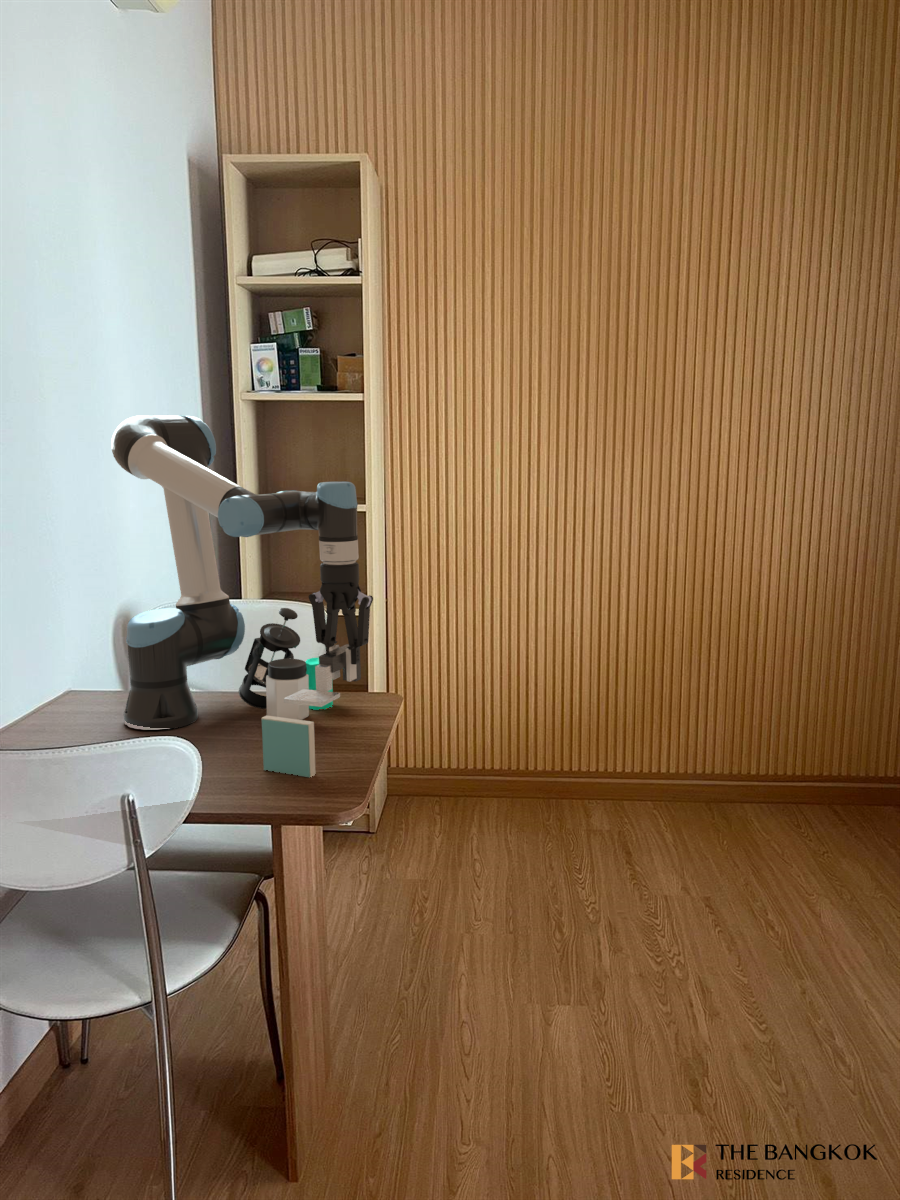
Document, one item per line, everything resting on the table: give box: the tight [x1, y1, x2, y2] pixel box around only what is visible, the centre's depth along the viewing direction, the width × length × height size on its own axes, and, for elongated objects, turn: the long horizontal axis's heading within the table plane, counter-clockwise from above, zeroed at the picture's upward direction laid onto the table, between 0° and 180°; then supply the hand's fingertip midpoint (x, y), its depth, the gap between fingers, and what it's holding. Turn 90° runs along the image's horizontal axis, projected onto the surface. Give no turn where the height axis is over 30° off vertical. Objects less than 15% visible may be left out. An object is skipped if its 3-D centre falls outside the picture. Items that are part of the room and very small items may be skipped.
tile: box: [261, 714, 317, 778], centre depth 174 cm, size 2×10×10 cm, turn 67°
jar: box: [265, 658, 310, 720], centre depth 206 cm, size 9×8×12 cm
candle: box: [305, 655, 334, 711], centre depth 215 cm, size 6×6×12 cm
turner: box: [284, 643, 362, 707], centre depth 186 cm, size 20×8×7 cm, turn 157°
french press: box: [238, 607, 301, 710], centre depth 212 cm, size 12×9×23 cm
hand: (343, 678), depth 191 cm, fingers closed on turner, 3 cm apart
